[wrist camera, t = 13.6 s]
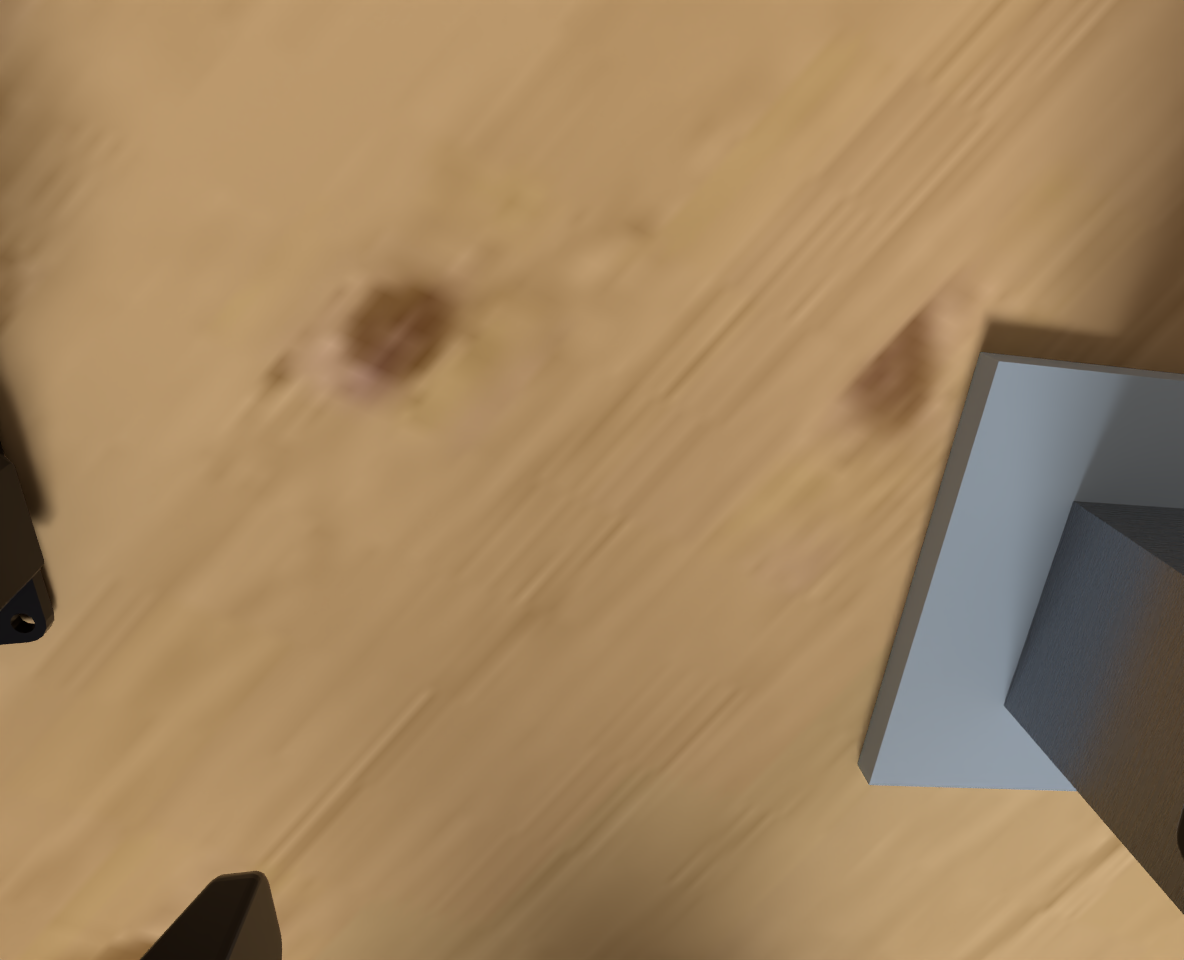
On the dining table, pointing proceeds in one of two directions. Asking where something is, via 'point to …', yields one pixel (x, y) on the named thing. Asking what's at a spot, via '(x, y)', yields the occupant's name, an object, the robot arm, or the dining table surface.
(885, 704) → the base block
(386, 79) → the dining table surface
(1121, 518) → the grey block
